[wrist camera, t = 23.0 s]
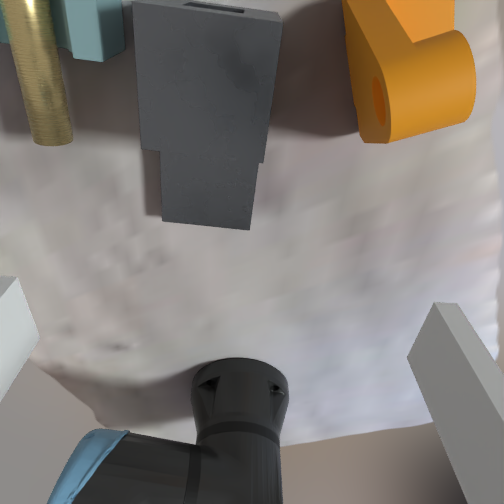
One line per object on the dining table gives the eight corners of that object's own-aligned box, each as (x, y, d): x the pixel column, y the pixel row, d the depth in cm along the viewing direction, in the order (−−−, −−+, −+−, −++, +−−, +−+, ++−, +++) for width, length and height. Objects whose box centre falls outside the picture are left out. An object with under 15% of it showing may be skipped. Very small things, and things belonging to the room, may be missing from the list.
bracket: (439, 109, 33) (515, 163, 23) (357, 132, 34) (397, 193, 25) (439, -38, 27) (541, -47, 17) (339, -2, 28) (382, 8, 18)
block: (249, 220, 40) (248, 266, 33) (166, 211, 39) (148, 256, 33) (277, 12, 29) (283, 22, 22) (160, -4, 28) (131, 1, 22)
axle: (80, 137, 32) (57, 148, 29) (50, 130, 32) (24, 141, 30) (30, -173, 21) (-13, -195, 19) (-15, -178, 21) (-63, -199, 19)
